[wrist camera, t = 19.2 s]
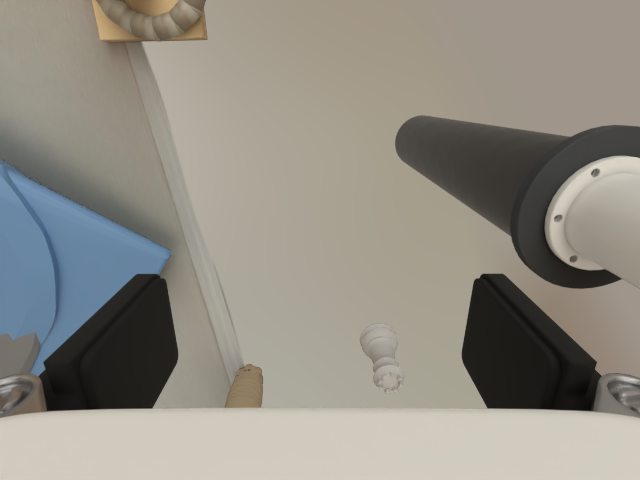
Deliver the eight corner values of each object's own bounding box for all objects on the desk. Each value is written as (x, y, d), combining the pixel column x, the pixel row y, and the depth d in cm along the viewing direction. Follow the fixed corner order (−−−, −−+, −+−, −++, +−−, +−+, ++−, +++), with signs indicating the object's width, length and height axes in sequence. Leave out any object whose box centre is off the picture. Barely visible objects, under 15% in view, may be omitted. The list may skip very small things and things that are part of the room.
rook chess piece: (385, 355, 46) (400, 406, 38) (353, 344, 45) (361, 393, 37) (402, 327, 44) (420, 374, 37) (368, 316, 43) (380, 361, 36)
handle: (222, 359, 45) (182, 475, 31) (273, 355, 45) (256, 469, 31) (229, 389, 47) (193, 512, 33) (278, 385, 47) (263, 506, 33)
